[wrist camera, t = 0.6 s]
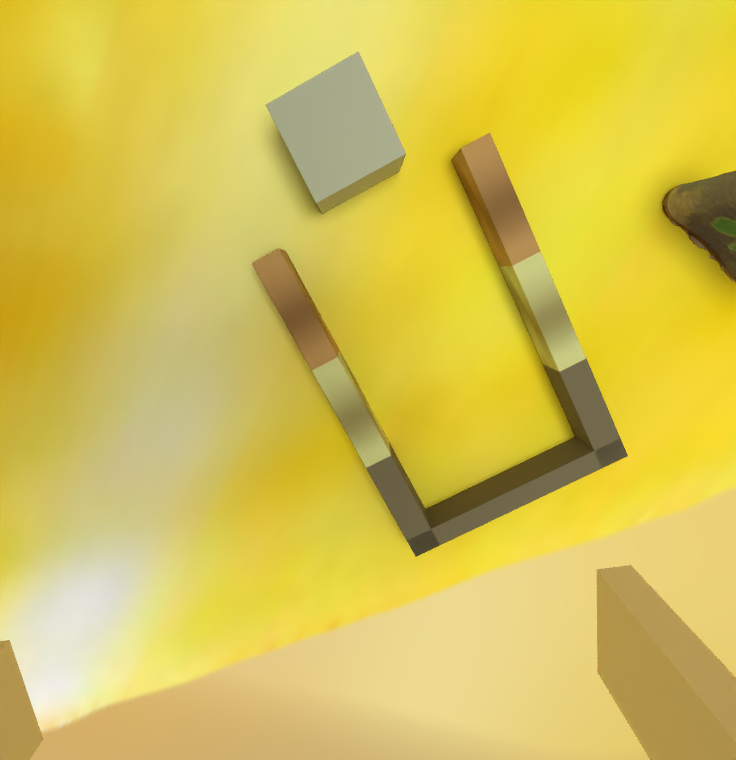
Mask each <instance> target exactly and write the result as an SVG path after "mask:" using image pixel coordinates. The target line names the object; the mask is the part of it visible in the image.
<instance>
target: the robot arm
mask: <svg viewBox="0 0 736 760" xmlns="http://www.w3.org/2000/svg"><path fill="white" fill-rule="evenodd" d="M597 650H598V674H599V675H600V677H601V679H602V680H603V682H604V684H605V685H606V687H607V689H608V690H609V692H610V693H611V695H612V697H613V699H614V700H615V702H616V703H617V705H618V707H619V709H620V710H621V712H622V713H623V715H624V717H625V718H626V720H627V722H628V723H629V725H630V727H631V728H632V730H633V732H634V733H635V735H636V737H637V738H638V740H639V742H640V743H641V745H642V747H643V748H644V750H645V752H646V753H647V755H648V757H649V758H650V760H736V677H735V676H734V675H733V674H732V673H731V672H730V671H729V670H728V669H727V668H726V666H725V665H724V664H723V663H722V662H721V661H720V660H719V659H718V658H717V657H716V656H715V655H714V654H713V653H712V651H711V650H710V649H709V648H708V647H707V646H706V645H705V644H704V643H703V642H702V641H701V640H700V639H699V638H698V637H697V636H696V634H695V633H694V632H693V631H692V630H691V629H690V628H689V627H688V626H687V625H686V624H685V623H684V621H682V619H681V618H680V617H679V616H678V615H677V614H676V613H675V612H674V611H673V610H672V609H671V608H670V606H669V605H668V604H667V603H666V602H665V601H664V600H663V599H662V598H661V597H660V596H659V595H658V594H657V593H656V592H655V590H653V588H652V587H651V586H650V585H649V584H648V583H647V582H646V581H645V580H644V579H643V578H642V577H641V575H639V573H638V572H637V571H636V570H635V569H634V568H633V567H632V566H631V565H630V566H622V567H613V568H605V569H597ZM42 740H43V737H42V734H41V731H40V729H39V726H38V723H37V720H36V717H35V714H34V711H33V708H32V705H31V702H30V699H29V696H28V693H27V690H26V687H25V685H24V682H23V679H22V676H21V673H20V670H19V667H18V664H17V661H16V658H15V655H14V652H13V649H12V646H11V643H10V641H9V640H8V641H0V760H30V758H31V757H32V755H33V754H34V752H35V750H36V749H37V748H38V746H39V745H40V743H41V742H42Z"/></svg>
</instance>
